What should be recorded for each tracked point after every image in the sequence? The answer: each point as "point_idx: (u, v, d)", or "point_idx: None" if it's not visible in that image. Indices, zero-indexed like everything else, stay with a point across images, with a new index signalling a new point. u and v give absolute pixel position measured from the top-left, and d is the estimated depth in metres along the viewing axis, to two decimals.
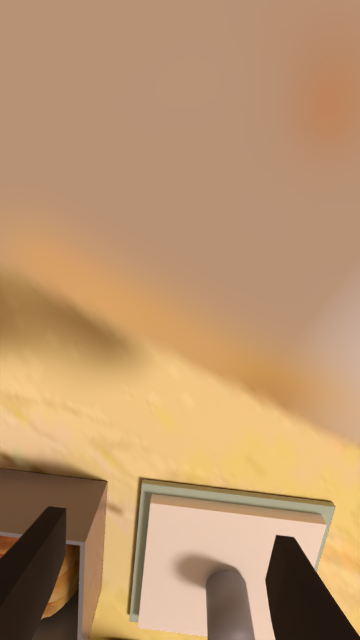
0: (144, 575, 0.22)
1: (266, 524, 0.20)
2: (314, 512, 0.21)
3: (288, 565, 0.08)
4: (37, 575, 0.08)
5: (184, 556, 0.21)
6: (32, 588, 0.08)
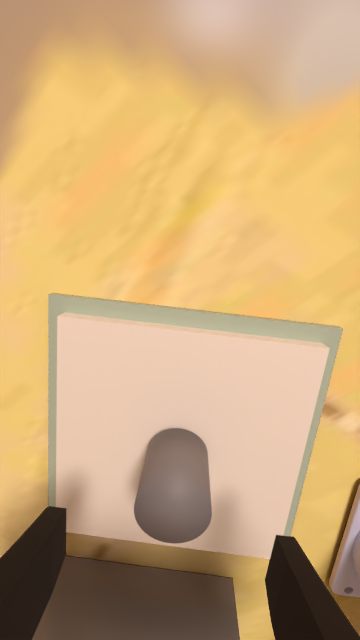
0: (176, 545, 0.16)
1: (68, 398, 0.14)
2: None
3: (288, 565, 0.08)
4: (37, 575, 0.08)
5: None
6: (32, 588, 0.08)
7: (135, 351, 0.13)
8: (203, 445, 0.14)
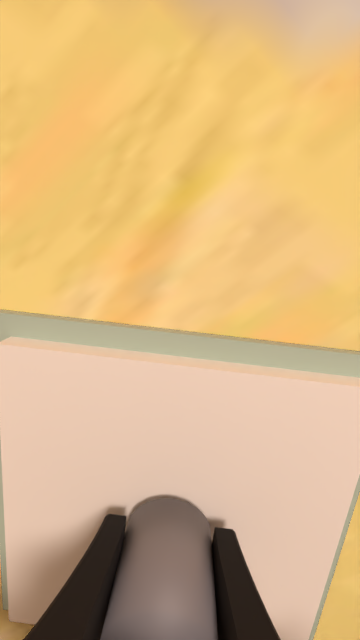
0: None
1: (18, 455, 0.10)
2: None
3: (219, 556, 0.08)
4: (109, 584, 0.08)
5: None
6: (106, 597, 0.08)
7: (108, 392, 0.10)
8: (205, 523, 0.10)
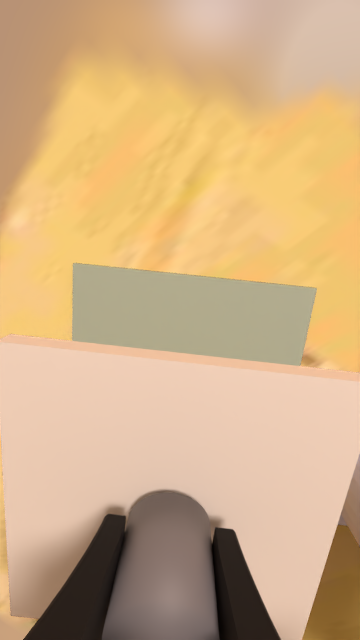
0: None
1: (18, 452, 0.10)
2: (84, 288, 0.17)
3: (219, 556, 0.08)
4: (108, 584, 0.08)
5: None
6: (105, 597, 0.08)
7: (108, 389, 0.10)
8: (204, 516, 0.10)
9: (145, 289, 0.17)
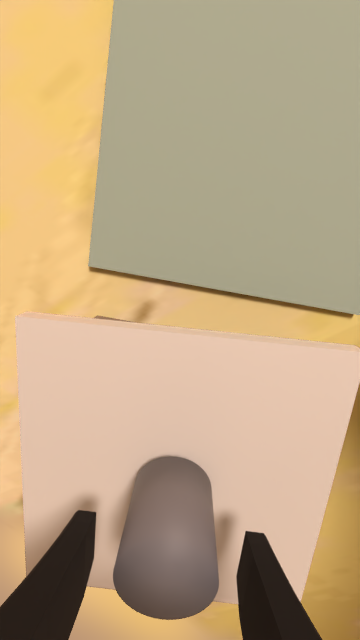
0: None
1: (34, 420, 0.11)
2: None
3: (254, 561, 0.08)
4: (73, 580, 0.08)
5: None
6: (69, 592, 0.08)
7: (117, 360, 0.11)
8: (205, 478, 0.11)
9: None
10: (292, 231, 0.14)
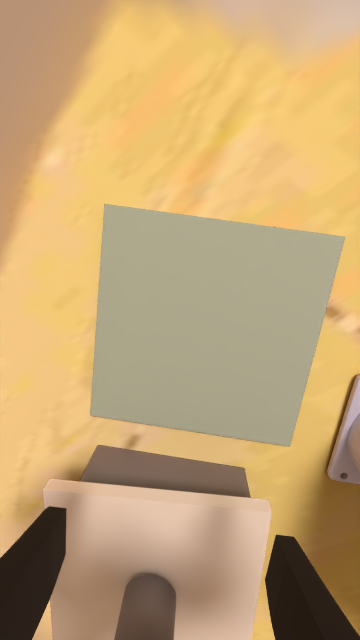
0: None
1: None
2: (114, 229, 0.17)
3: (288, 565, 0.08)
4: (37, 575, 0.08)
5: None
6: (32, 588, 0.08)
7: (109, 515, 0.16)
8: (170, 591, 0.16)
9: (174, 232, 0.17)
10: (235, 392, 0.19)
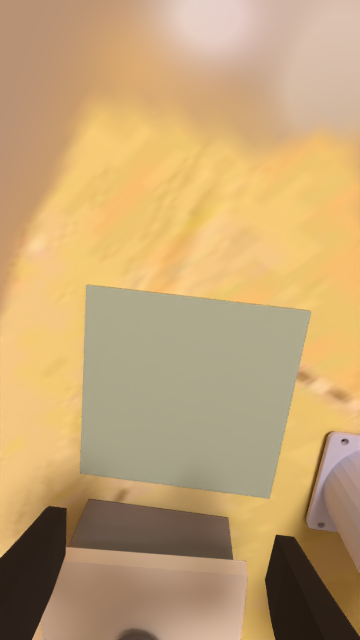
0: None
1: (49, 611, 0.18)
2: (96, 307, 0.18)
3: (288, 565, 0.08)
4: (37, 575, 0.08)
5: None
6: (32, 588, 0.08)
7: (97, 579, 0.17)
8: None
9: (152, 309, 0.18)
10: (215, 450, 0.20)
